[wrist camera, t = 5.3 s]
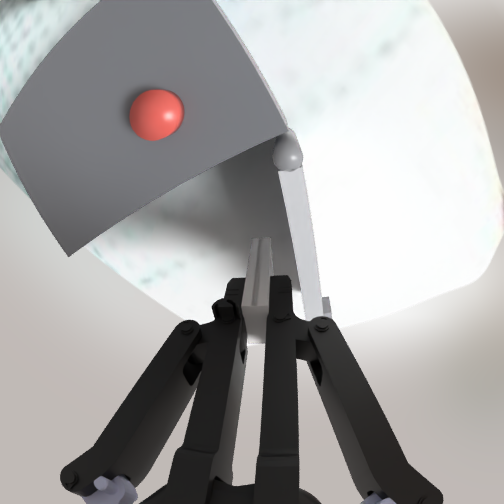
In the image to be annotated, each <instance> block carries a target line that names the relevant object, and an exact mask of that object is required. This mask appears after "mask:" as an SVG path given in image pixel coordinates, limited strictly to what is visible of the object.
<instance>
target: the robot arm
mask: <svg viewBox="0 0 504 504" xmlns="http://www.w3.org/2000/svg"><path fill="white" fill-rule="evenodd" d="M212 310H213V314H214V317H215V320H214V321H212V322H210V323H206V324H202V325H199V324H198V323H197V322H196V321H194V320H186V321H183V322H181V323H179V324H178V325H177V326H176V327H175V329H174V330H173V332H172V333H171V334H170V336H169V337H168V338H167V340H166V341H165V343H164V344H163V346H162V347H161V348H160V350H159V351H158V353H157V354H156V356H155V357H154V358H153V360H152V361H151V363H150V364H149V366H148V367H147V368H146V370H145V371H144V373H143V374H142V375H141V377H140V378H139V380H138V381H137V383H136V384H135V385H134V387H133V388H132V390H131V391H130V393H129V394H128V396H127V397H126V399H125V400H124V401H123V403H122V404H121V406H120V407H119V409H118V410H117V412H116V413H115V415H114V416H113V417H112V419H111V420H110V422H109V424H108V425H107V426H106V428H105V429H104V431H103V432H102V434H101V435H100V437H99V438H98V440H97V441H96V443H95V444H94V446H93V447H92V448H91V449H89V450H88V451H86V452H85V453H83V454H82V455H81V456H79V457H78V458H77V459H75V460H74V461H72V462H71V463H70V464H68V465H67V466H65V467H64V468H63V469H62V471H61V474H60V480H61V483H62V485H63V486H64V488H65V489H66V490H68V491H70V492H72V493H75V494H77V495H80V496H81V497H82V498H83V499H84V501H85V502H86V504H133V502H134V501H136V500H137V498H138V495H137V493H136V489H135V487H137V486H138V485H139V484H140V483H141V481H143V479H144V478H145V477H146V475H147V474H148V473H149V471H150V469H151V468H152V466H153V464H154V462H155V461H156V459H157V457H158V455H159V454H160V452H161V450H162V449H163V447H164V445H165V443H166V442H167V440H168V438H169V436H170V435H171V433H172V431H173V429H174V428H175V426H176V424H177V422H178V421H179V419H180V417H181V415H182V413H183V412H184V410H185V408H186V406H187V404H188V403H189V401H190V399H191V397H192V395H193V394H194V392H195V390H196V388H197V390H196V394H195V398H194V402H193V406H192V410H191V414H190V418H189V423H188V427H187V430H186V434H185V439H184V443H183V445H182V446H181V447H180V448H178V449H177V450H176V452H175V455H174V458H173V462H172V466H171V470H170V475H169V478H168V483H167V484H166V485H165V486H163V487H162V488H160V489H159V490H157V491H156V492H155V493H153V494H152V495H151V496H149V497H148V498H146V499H145V500H143V502H141V503H139V504H321V503H320V502H319V501H318V500H317V498H315V497H314V496H313V495H312V494H310V493H308V492H307V491H305V490H302V489H300V488H299V431H298V429H299V428H298V392H297V391H298V389H297V363H296V358H297V359H301V360H305V361H307V364H308V366H309V369H310V371H311V373H312V376H313V379H314V381H315V384H316V386H317V389H318V391H319V394H320V396H321V399H322V402H323V404H324V407H325V409H326V412H327V414H328V417H329V419H330V422H331V424H332V427H333V430H334V432H335V435H336V437H337V440H338V443H339V445H340V448H341V450H342V453H343V456H344V458H345V461H346V463H347V466H348V469H349V471H350V474H351V476H352V479H353V482H354V483H355V486H356V488H357V490H358V491H359V493H360V495H361V496H362V498H363V499H364V501H363V502H361V503H360V504H443V494H442V493H441V492H440V490H439V489H437V488H436V487H435V486H434V485H433V484H431V483H430V482H429V481H428V480H427V479H426V478H424V477H423V476H422V475H421V474H420V473H419V472H417V471H416V470H415V469H414V468H413V467H412V466H411V465H410V464H408V462H407V460H406V458H405V456H404V454H403V451H402V449H401V447H400V445H399V443H398V441H397V439H396V437H395V435H394V433H393V431H392V429H391V427H390V424H389V423H388V420H387V418H386V417H385V415H384V413H383V411H382V409H381V407H380V405H379V403H378V401H377V399H376V397H375V395H374V394H373V392H372V389H371V387H370V385H369V384H368V382H367V380H366V378H365V376H364V374H363V372H362V371H361V368H360V367H359V365H358V363H357V361H356V359H355V357H354V356H353V354H352V352H351V350H350V348H349V347H348V345H347V343H346V341H345V339H344V337H343V336H342V334H341V332H340V330H339V328H338V327H337V325H336V323H335V322H334V321H333V319H331V318H329V317H326V316H318V317H315V318H313V319H312V320H311V321H305V320H302V319H300V318H298V317H297V316H296V315H295V314H294V312H293V301H292V284H291V279H290V278H289V277H288V275H281V276H273V260H272V248H271V237H267V238H252V243H251V250H250V256H249V262H248V268H247V274H246V278H232V279H231V280H230V281H229V283H228V284H227V288H226V292H225V296H224V298H222V299H220V300H217V301H216V302H215V303H214V304H213V305H212ZM247 339H248V344H254V343H257V344H261V343H265V363H264V382H263V401H262V416H261V417H262V418H261V432H260V447H259V455H258V457H257V463H256V475H255V484H250V485H243V486H232V480H233V472H232V462H233V455H234V448H235V441H236V434H237V426H238V420H239V412H240V405H241V397H242V389H243V383H244V375H245V368H246V360H247V352H248V351H247Z"/></svg>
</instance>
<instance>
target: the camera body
mask: <svg viewBox="0 0 504 504" xmlns="http://www.w3.org/2000/svg"><path fill="white" fill-rule="evenodd" d="M288 131H289V130H288V125H287V121H286V118H285V116H284V114H283V112H282V110H281V108H280V106H279V104H278V102H277V100H276V98H275V97H274V95H273V93H272V91H271V89H270V87H269V85H268V84H267V82H266V80H265V78H264V77H263V75H262V73H261V71H260V69H259V68H258V66H257V64H256V63H255V61H254V59H253V57H252V56H251V54H250V52H249V51H248V49H247V48H246V46H245V44H244V43H243V41H242V39H241V38H240V36H239V35H238V33H237V32H236V30H235V28H234V27H233V25H232V24H231V22H230V21H229V19H228V18H227V16H226V15H225V13H224V12H223V10H222V9H221V7H220V6H219V5H218V3H217V2H216V0H101V1H100V2H99V3H97V4H96V5H95V6H94V7H93V8H92V9H91V10H90V11H88V12H87V13H86V14H85V15H84V16H83V17H82V18H81V19H80V20H79V21H78V22H77V23H76V24H75V25H74V26H73V27H72V28H71V29H70V30H69V31H68V32H67V33H66V34H65V35H64V36H63V38H62V39H61V40H60V41H59V42H58V43H57V44H56V45H55V46H54V48H53V49H52V50H51V51H50V52H49V54H48V55H47V56H46V57H45V58H44V60H43V61H42V62H41V63H40V65H39V66H38V67H37V69H36V70H35V71H34V73H33V74H32V75H31V77H30V78H29V80H28V81H27V82H26V84H25V85H24V87H23V88H22V90H21V91H20V93H19V94H18V96H17V97H16V99H15V101H14V102H13V104H12V105H11V107H10V109H9V110H8V112H7V114H6V116H5V117H4V119H3V121H2V123H1V124H0V137H1V139H2V142H3V144H4V146H5V149H6V151H7V153H8V155H9V158H10V160H11V162H12V164H13V166H14V168H15V170H16V172H17V174H18V176H19V178H20V180H21V182H22V184H23V186H24V187H25V189H26V191H27V193H28V195H29V196H30V198H31V200H32V202H33V203H34V205H35V207H36V209H37V210H38V212H39V213H40V215H41V217H42V218H43V220H44V221H45V223H46V225H47V226H48V228H49V229H50V231H51V232H52V234H53V235H54V237H55V238H56V240H57V241H58V243H59V244H60V246H61V247H62V249H63V250H64V252H65V253H66V254H67V256H68V257H69V256H71V255H72V254H73V253H75V252H76V251H77V250H79V249H80V248H81V247H83V246H84V245H86V244H87V243H89V242H90V241H92V240H93V239H94V238H96V237H97V236H99V235H100V234H102V233H103V232H105V231H106V230H107V229H109V228H110V227H112V226H113V225H115V224H116V223H118V222H120V221H121V220H123V219H124V218H126V217H127V216H129V215H130V214H132V213H134V212H135V211H137V210H138V209H140V208H142V207H143V206H145V205H146V204H148V203H150V202H151V201H153V200H155V199H156V198H158V197H160V196H161V195H163V194H165V193H166V192H168V191H170V190H172V189H173V188H175V187H177V186H179V185H180V184H182V183H184V182H186V181H188V180H189V179H191V178H193V177H195V176H197V175H199V174H200V173H202V172H204V171H206V170H208V169H210V168H212V167H214V166H216V165H218V164H220V163H222V162H223V161H225V160H227V159H229V158H231V157H233V156H235V155H238V154H240V153H242V152H244V151H246V150H248V149H250V148H252V147H254V146H256V145H259V144H261V143H263V142H265V141H267V140H269V139H272V138H274V137H276V136H279V135H281V134H283V133H285V132H288Z"/></svg>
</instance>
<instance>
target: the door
mask: <svg viewBox="0 0 504 504" xmlns="http://www.w3.org/2000/svg"><path fill="white" fill-rule="evenodd" d="M288 130H289V131H288V132H285V133H283V134H281V135H279V136H276V137H275V144H274V150H273V162H274V164H275V166H276V167H277V168H278V174H279V178H280V183H281V188H282V193H283V197H284V202H285V207H286V212H287V217H288V222H289V227H290V232H291V237H292V243H293V248H294V253H295V259H296V264H297V270H298V276H299V281H300V287H301V293H302V299H303V305H304V312H305V318H306V321H311V320H312V319H313V318H315V317H318V316H326V317H329V318H331V319H332V313H331V307H330V301H329V297H322V296H321V287H320V278H319V270H318V262H317V254H316V246H315V239H314V232H313V225H312V219H311V213H310V206H309V200H308V194H307V188H306V183H305V177H304V172H303V167H302V162H303V154H302V151H301V148H300V145H299V143H298V140H297V137H296V135H295V133H294V131H293V130H292V129H290V128H288Z"/></svg>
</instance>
